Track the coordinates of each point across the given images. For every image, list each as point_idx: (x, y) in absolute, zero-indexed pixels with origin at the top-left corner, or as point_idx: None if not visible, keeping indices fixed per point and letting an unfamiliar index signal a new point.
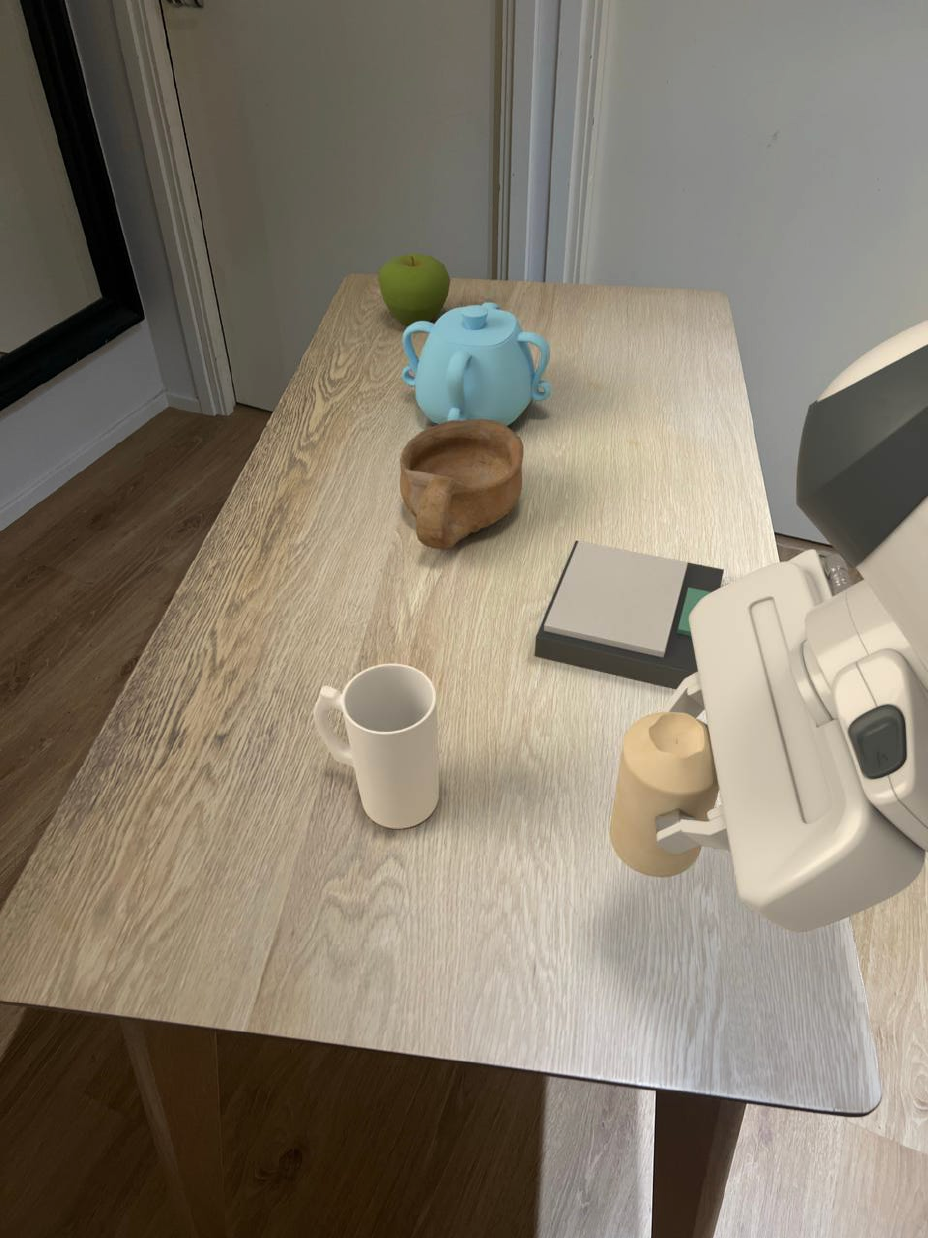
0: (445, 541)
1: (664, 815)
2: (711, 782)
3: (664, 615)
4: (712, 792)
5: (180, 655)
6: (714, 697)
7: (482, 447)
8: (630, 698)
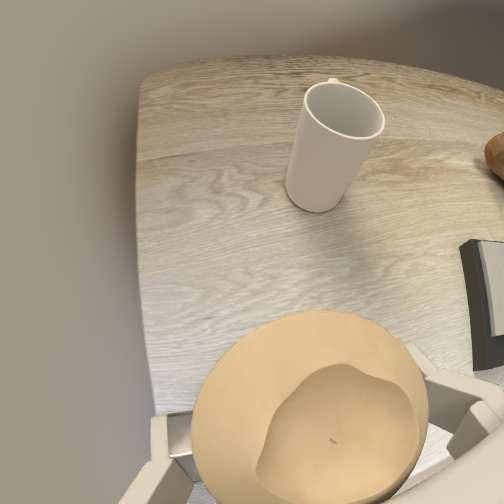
0: (493, 162)
1: None
2: None
3: None
4: None
5: (345, 65)
6: (469, 489)
7: None
8: (456, 326)
